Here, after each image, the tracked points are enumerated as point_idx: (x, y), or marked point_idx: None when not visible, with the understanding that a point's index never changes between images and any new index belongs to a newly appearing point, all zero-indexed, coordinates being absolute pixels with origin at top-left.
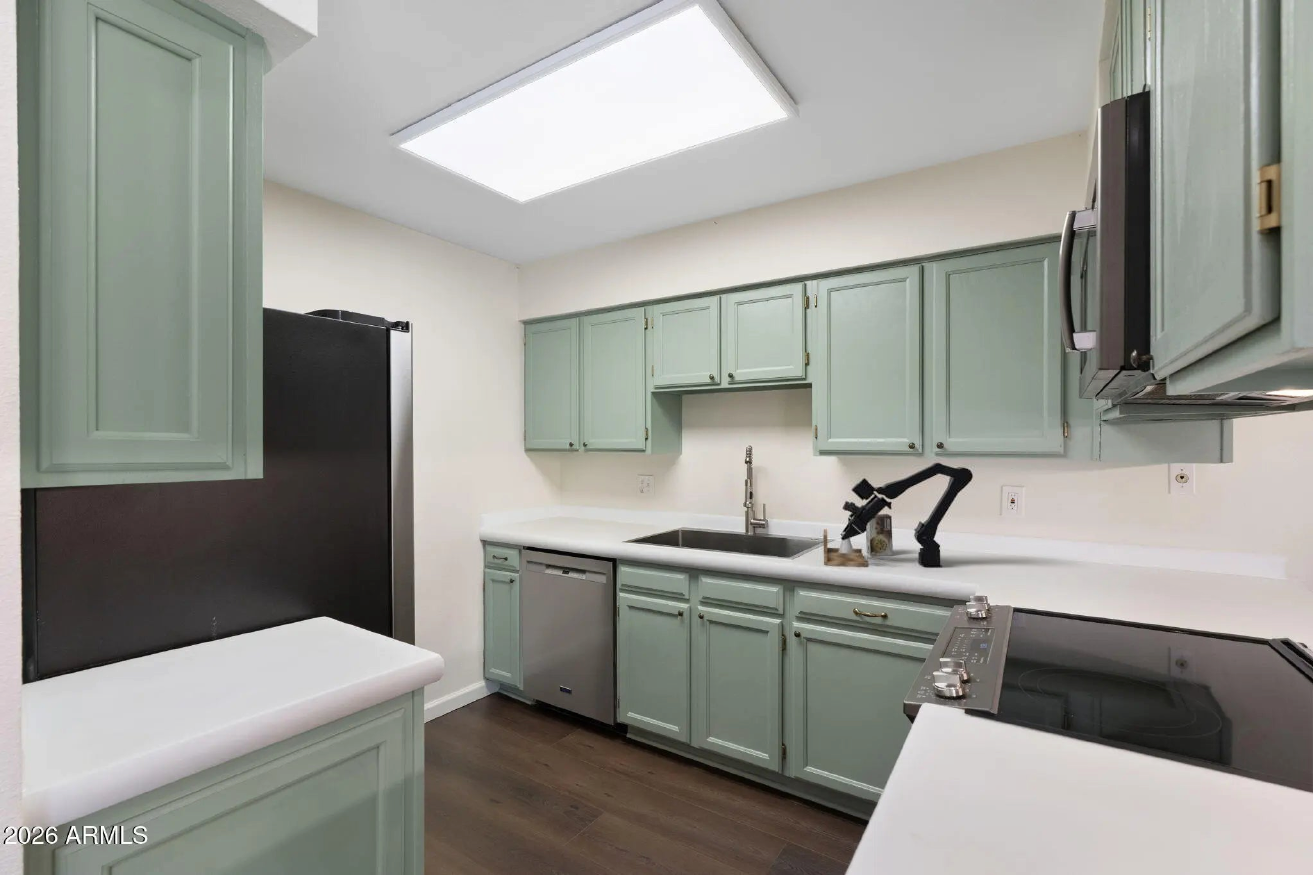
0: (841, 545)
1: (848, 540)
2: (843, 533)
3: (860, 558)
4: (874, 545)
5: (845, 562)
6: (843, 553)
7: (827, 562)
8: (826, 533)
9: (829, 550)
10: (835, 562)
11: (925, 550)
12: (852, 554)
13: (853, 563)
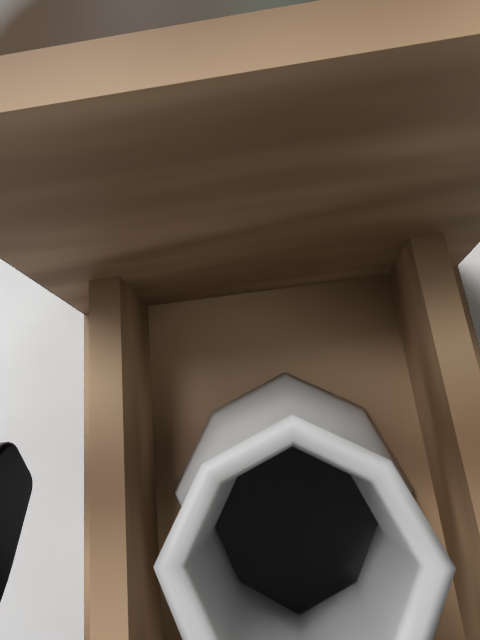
0: (252, 433)
1: (237, 588)
2: (191, 492)
3: None
4: None
5: (85, 495)
6: (89, 476)
7: (87, 318)
8: (33, 102)
9: (408, 271)
10: (86, 391)
11: None
12: (94, 604)
13: (89, 585)
